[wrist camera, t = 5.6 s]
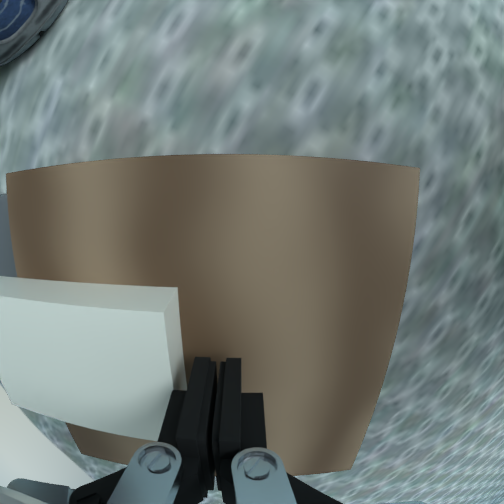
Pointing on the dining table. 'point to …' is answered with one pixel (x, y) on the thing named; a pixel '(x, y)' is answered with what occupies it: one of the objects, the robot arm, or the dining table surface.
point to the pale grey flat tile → (92, 352)
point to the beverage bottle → (24, 24)
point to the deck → (243, 275)
